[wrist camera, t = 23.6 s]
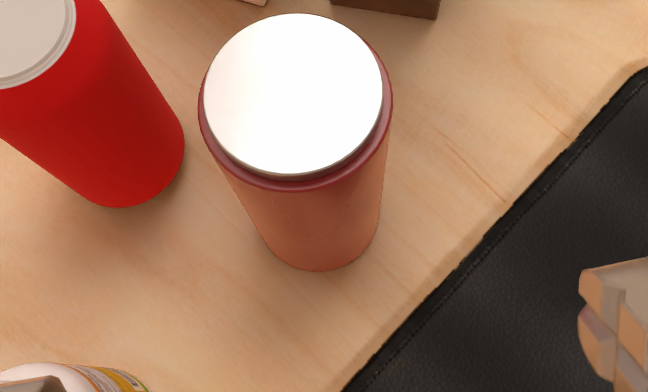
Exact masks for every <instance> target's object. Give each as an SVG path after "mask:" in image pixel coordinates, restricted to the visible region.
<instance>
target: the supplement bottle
mask: <svg viewBox="0 0 648 392" xmlns="http://www.w3.org/2000/svg"><path fill="white" fill-rule="evenodd" d="M48 375H52V376H55V377H58V378H59V379H60V380H61V382H62V384H63V386H64V388H65V389H66V391H67V392H151V391H150V389H149V388H148V387H147V386H146V385H145V384H144V383H143V382H142V381H141V380H140V379H138V378H137V377H135V376H134V375H132V374H130V373H127V372H124V371H121V370H117V369H111V368H103V367H90V366H79V365H68V364H59V363H47V362H44V363H28V364H22V365H18V366H15V367H12V368H9V369H7V370H4V371H2V372H0V384H2V383H8V382H14V381H19V380H25V379H31V378H36V377H42V376H48Z"/></svg>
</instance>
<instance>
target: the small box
mask: <svg viewBox="0 0 648 392" xmlns="http://www.w3.org/2000/svg"><path fill="white" fill-rule="evenodd" d="M243 1H246V2H250V3H253V4H257V5H260V6H264V5H265V3H266V0H243Z"/></svg>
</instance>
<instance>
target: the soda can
mask: <svg viewBox="0 0 648 392" xmlns="http://www.w3.org/2000/svg"><path fill="white" fill-rule="evenodd" d="M392 110H393V93H392V87H391V82H390V79H389V75H388V72H387V70H386V68H385V66H384V64H383V62H382V60H381V59H380V57H379V56H378V54H377V53H376V52H375V51H374V49H373V48H372V47H371V46H370V45H369V44H368V43H367V42H366V41H365V40H364V39H362V38H361V37H360V36H359V35H357V34H356V33H355V32H354V31H352V30H351V29H349V28H348V27H346V26H345V25H343V24H341V23H339V22H337V21H335V20H332V19H329V18H327V17H324V16H319V15H315V14H307V13H286V14H279V15H274V16H270V17H267V18H264V19H261V20H258V21H256V22H254V23H252V24H250V25H248V26H246V27H245V28H243V29H242V30H240V31H239V32H237V33H236V34H235V35H234V36H232V37H231V38H230V39H229V40H228V41H227V42H226V43H225V44H224V45H223V46H222V47H221V49H220V50H219V51H218V53H217V54H216V55H215V57H214V59H213V61H212V63H211V64H210V66H209V68H208V70H207V72H206V74H205V76H204V79H203V81H202V84H201V88H200V92H199V98H198V120H199V125H200V130H201V133H202V136H203V138H204V141H205V143H206V145H207V147H208V149H209V151H210V152H211V154H212V155H213V157H214V159H215V160H216V162H217V164H218V165H219V167H220V169H221V170H222V172H223V174H224V175H225V177H226V179H227V180H228V182H229V183H230V185H231V187H232V188H233V190H234V192H235V193H236V195H237V197H238V198H239V200H240V202H241V203H242V205H243V207H244V208H245V210H246V211H247V213H248V215H249V216H250V218H251V220H252V221H253V223H254V225H255V226H256V228H257V230H258V231H259V233H260V234H261V236H262V238H263V239H264V241H265V243H266V244H267V246H268V247H269V248H270V250H271V251H272V252H273V253H274V254H275V255H276V256H277V257H278V258H279V259H281V260H282V261H283V262H285V263H287V264H288V265H290V266H293V267H295V268H298V269H301V270H305V271H312V272H322V271H330V270H334V269H337V268H340V267H342V266H345V265H346V264H348V263H350V262H352V261H353V260H355V259H356V258H357V257H358V256H359V255H361V254H362V253H363V252H364V250H365V249H366V248H367V247H368V245H369V244H370V242H371V240H372V239H373V237H374V234H375V232H376V229H377V225H378V219H379V211H380V204H381V196H382V188H383V180H384V172H385V164H386V157H387V149H388V141H389V133H390V125H391V117H392Z"/></svg>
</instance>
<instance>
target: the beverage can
mask: <svg viewBox="0 0 648 392" xmlns="http://www.w3.org/2000/svg"><path fill="white" fill-rule="evenodd" d="M0 138H1V139H3V140H4V141H6V142H7V143H8V144H10V145H11V146H13V147H14V148H15V149H17V150H18V151H20V152H21V153H22V154H24V155H25V156H27V157H28V158H29V159H31V160H32V161H34V162H35V163H36V164H38V165H39V166H41V167H42V168H43V169H45V170H46V171H48V172H49V173H50V174H52V175H53V176H55V177H56V178H58V179H59V180H60V181H62V182H63V183H65V184H66V185H67V186H69V187H70V188H72V189H73V190H74V191H76V192H77V193H79V194H80V195H81V196H83V197H84V198H86V199H87V200H89V201H91V202H93V203H96V204H98V205H101V206H106V207H114V208H121V207H130V206H134V205H138V204H141V203H143V202H146V201H148V200H150V199H151V198H153V197H155V196H156V195H158V194H159V193H160V192H161V191H163V190H164V189H165V188H166V187H167V186H168V185H169V183H170V182H171V181H172V180H173V178H174V177H175V175H176V173H177V172H178V170H179V167H180V165H181V162H182V159H183V155H184V134H183V130H182V127H181V124H180V122H179V120H178V118H177V117H176V115H175V114H174V112H173V110H172V109H171V107H170V106H169V104H168V103H167V101H166V100H165V98H164V97H163V95H162V94H161V92H160V91H159V89H158V88H157V86H156V84H155V83H154V81H153V80H152V78H151V77H150V75H149V74H148V72H147V71H146V69H145V68H144V66H143V65H142V63H141V62H140V60H139V59H138V57H137V55H136V54H135V52H134V51H133V49H132V48H131V46H130V45H129V43H128V42H127V40H126V39H125V37H124V36H123V34H122V33H121V31H120V30H119V28H118V26H117V25H116V23H115V22H114V20H113V19H112V17H111V16H110V14H109V13H108V11H107V10H106V8H105V7H104V5H103V4H102V3H101V2H100V0H0Z"/></svg>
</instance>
